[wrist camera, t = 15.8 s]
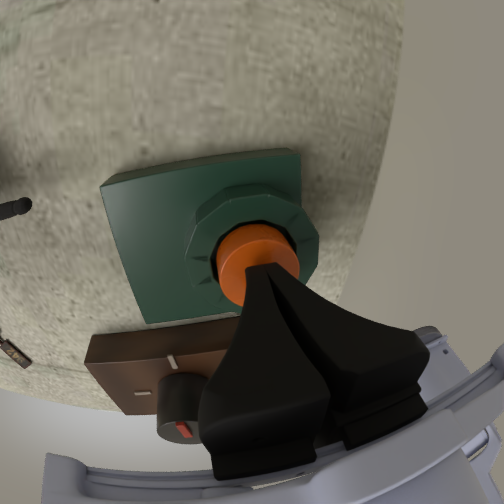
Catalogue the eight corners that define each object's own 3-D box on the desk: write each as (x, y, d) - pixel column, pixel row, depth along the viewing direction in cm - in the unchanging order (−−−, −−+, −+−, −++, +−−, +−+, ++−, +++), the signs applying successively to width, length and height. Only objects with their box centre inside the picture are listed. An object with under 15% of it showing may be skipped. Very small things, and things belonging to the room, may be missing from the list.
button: (288, 217, 13) (300, 233, 11) (289, 280, 15) (299, 300, 13) (210, 229, 13) (213, 247, 11) (221, 292, 14) (225, 314, 13)
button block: (291, 147, 15) (320, 160, 11) (294, 278, 19) (314, 316, 16) (111, 175, 14) (86, 198, 10) (149, 303, 18) (143, 345, 15)
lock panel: (264, 308, 20) (275, 339, 17) (269, 374, 24) (277, 401, 22) (90, 332, 19) (81, 362, 16) (129, 391, 23) (127, 418, 20)
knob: (219, 398, 20) (226, 444, 17) (168, 404, 20) (169, 449, 16) (207, 369, 18) (214, 421, 14) (149, 376, 18) (146, 427, 14)
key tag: (35, 366, 19) (33, 370, 19) (20, 368, 19) (19, 372, 19) (-16, 305, 15) (-19, 309, 15) (-28, 311, 15) (-30, 315, 15)
